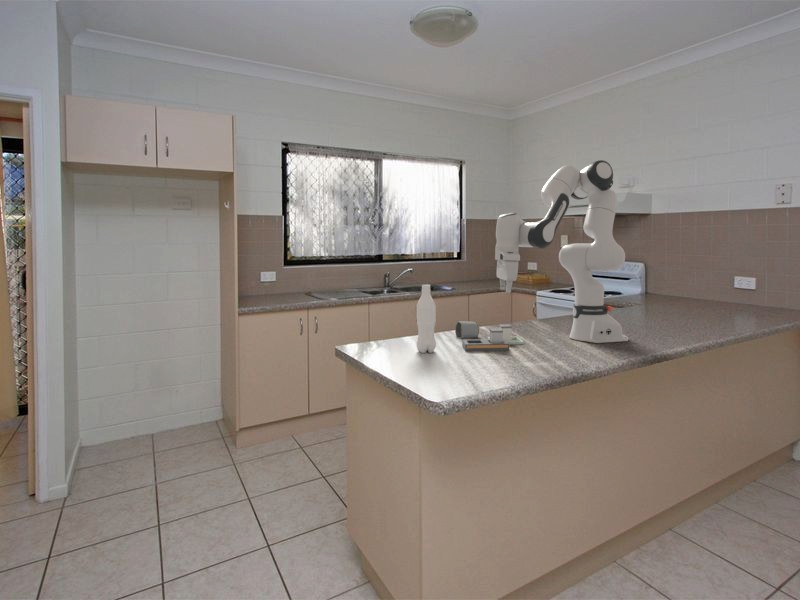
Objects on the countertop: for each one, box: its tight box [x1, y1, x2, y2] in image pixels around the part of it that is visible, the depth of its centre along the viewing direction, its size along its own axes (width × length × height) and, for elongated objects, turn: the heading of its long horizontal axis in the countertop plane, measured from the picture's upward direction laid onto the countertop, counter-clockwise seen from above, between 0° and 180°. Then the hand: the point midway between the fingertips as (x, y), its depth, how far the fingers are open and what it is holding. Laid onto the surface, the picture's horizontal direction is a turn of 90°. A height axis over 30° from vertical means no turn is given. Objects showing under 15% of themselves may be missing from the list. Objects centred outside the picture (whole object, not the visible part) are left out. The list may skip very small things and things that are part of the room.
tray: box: [487, 335, 525, 345], centre depth 195 cm, size 12×10×2 cm
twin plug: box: [489, 328, 503, 343], centre depth 183 cm, size 4×4×7 cm
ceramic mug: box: [454, 320, 480, 340], centre depth 206 cm, size 11×8×8 cm
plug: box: [498, 324, 513, 342], centre depth 194 cm, size 4×4×7 cm
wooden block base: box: [461, 338, 510, 352], centre depth 183 cm, size 16×8×4 cm, turn 91°
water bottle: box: [415, 284, 437, 354], centre depth 182 cm, size 7×7×25 cm
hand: (505, 291), depth 192 cm, fingers open, 8 cm apart
